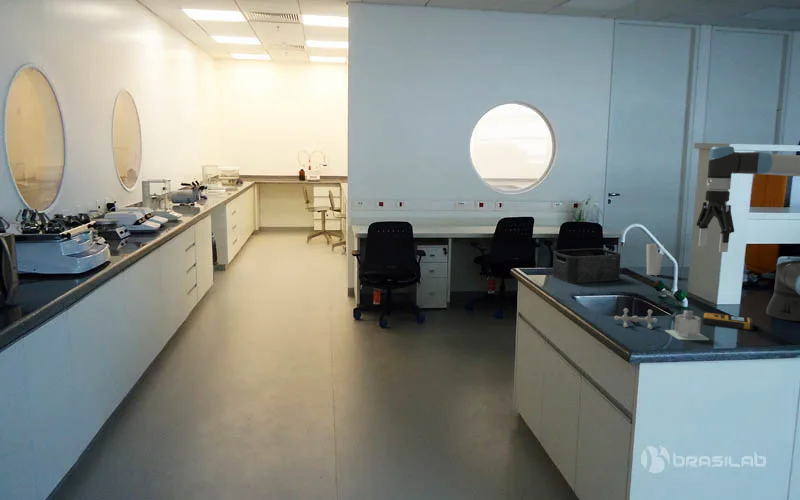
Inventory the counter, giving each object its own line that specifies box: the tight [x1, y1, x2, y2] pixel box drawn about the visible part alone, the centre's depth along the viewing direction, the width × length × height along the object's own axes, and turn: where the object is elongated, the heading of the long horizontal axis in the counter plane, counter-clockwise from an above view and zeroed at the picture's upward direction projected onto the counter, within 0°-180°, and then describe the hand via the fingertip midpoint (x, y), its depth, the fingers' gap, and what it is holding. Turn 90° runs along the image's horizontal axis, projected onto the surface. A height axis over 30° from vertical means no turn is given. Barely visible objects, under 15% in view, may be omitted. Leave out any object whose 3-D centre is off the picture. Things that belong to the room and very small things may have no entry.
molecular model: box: [613, 307, 658, 330], centre depth 210 cm, size 14×8×10 cm
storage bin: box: [552, 247, 622, 284], centre depth 288 cm, size 29×19×13 cm
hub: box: [673, 313, 702, 338], centre depth 196 cm, size 7×7×6 cm
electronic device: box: [701, 312, 754, 331], centre depth 210 cm, size 8×16×3 cm, turn 62°
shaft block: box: [664, 309, 710, 341], centre depth 196 cm, size 10×10×8 cm
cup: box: [646, 243, 665, 277], centre depth 297 cm, size 8×8×16 cm
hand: (712, 248), depth 212 cm, fingers open, 13 cm apart
